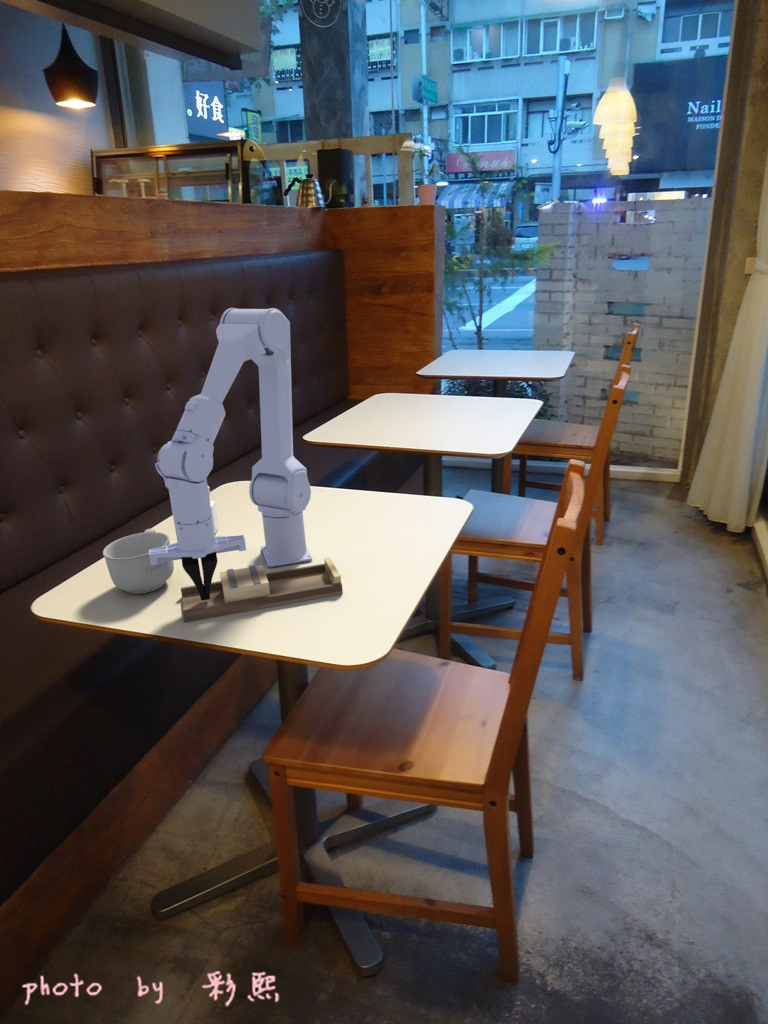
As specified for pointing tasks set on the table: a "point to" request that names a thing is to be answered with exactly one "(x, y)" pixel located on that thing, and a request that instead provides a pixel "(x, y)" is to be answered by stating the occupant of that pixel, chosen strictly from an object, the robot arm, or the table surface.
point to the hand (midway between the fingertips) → (205, 597)
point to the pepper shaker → (213, 513)
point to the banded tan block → (244, 583)
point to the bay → (281, 586)
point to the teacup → (137, 562)
